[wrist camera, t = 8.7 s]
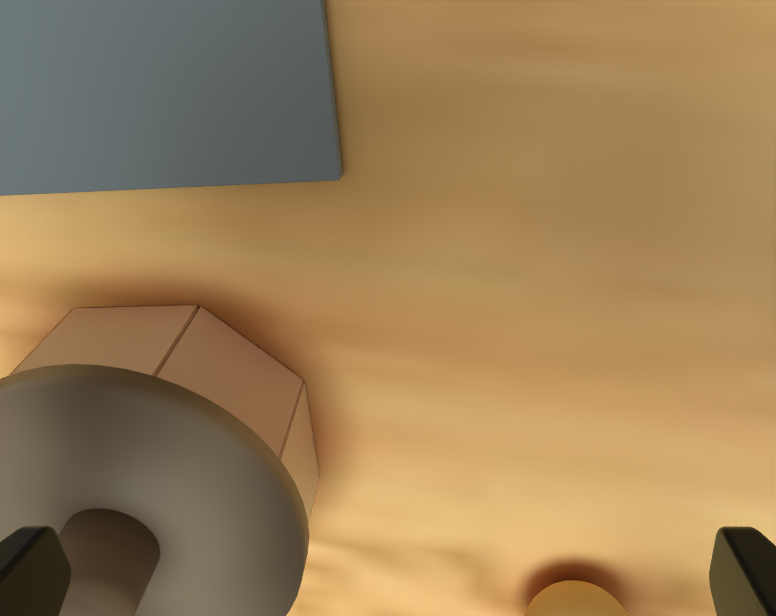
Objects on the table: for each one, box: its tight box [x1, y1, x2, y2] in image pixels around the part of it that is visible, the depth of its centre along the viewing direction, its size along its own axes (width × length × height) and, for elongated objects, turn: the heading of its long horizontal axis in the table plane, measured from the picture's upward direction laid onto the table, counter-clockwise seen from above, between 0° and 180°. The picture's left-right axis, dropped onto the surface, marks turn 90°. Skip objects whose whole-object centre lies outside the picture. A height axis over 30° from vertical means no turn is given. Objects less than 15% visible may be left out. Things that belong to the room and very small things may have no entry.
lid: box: [0, 364, 309, 616], centre depth 19 cm, size 11×11×5 cm
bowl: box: [9, 305, 319, 523], centre depth 23 cm, size 10×10×4 cm
